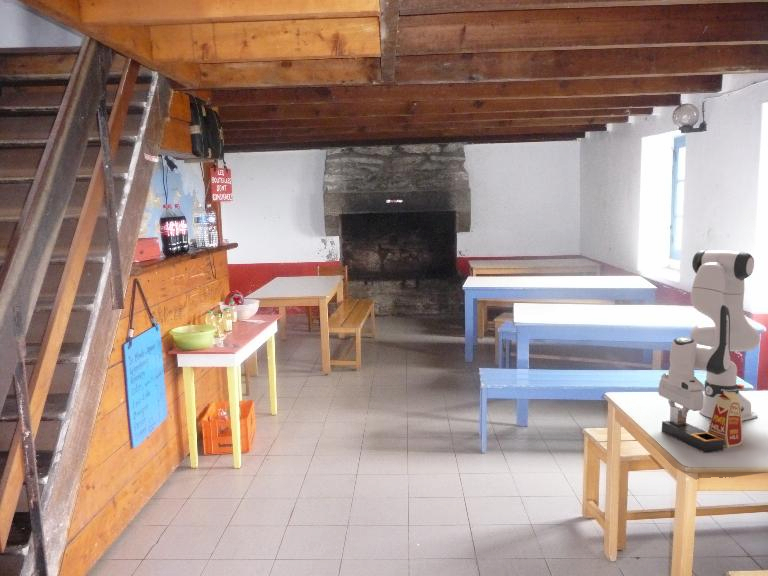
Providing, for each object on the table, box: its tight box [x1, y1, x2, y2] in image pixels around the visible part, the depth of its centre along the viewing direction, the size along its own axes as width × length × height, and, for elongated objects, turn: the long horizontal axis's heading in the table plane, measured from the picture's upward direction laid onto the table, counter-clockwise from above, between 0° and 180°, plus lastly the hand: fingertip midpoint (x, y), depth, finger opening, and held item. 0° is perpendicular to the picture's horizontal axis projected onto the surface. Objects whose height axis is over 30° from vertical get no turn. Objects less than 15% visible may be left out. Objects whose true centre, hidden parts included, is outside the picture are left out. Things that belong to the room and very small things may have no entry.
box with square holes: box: [661, 420, 725, 454], centre depth 226 cm, size 8×22×4 cm, turn 15°
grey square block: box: [669, 404, 687, 427], centre depth 233 cm, size 4×4×8 cm
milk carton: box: [707, 391, 743, 449], centre depth 224 cm, size 9×9×20 cm
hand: (678, 414), depth 232 cm, fingers closed on grey square block, 4 cm apart
